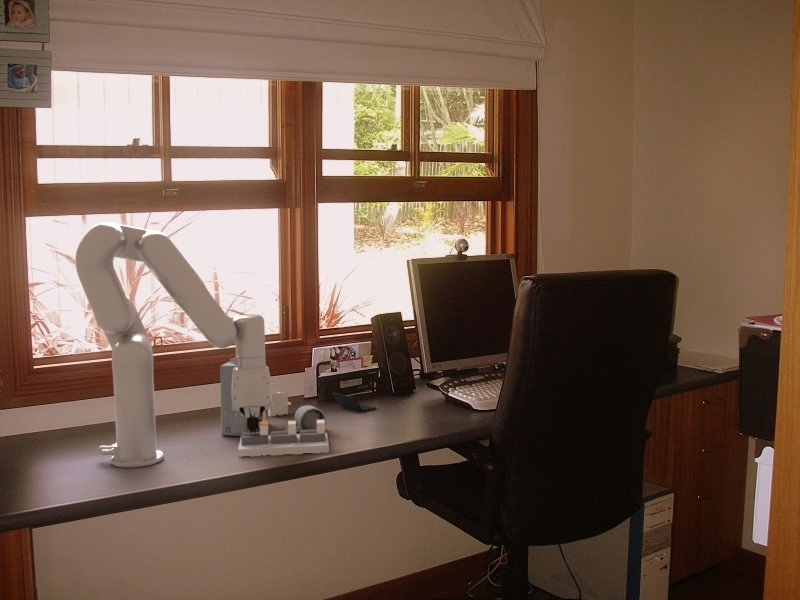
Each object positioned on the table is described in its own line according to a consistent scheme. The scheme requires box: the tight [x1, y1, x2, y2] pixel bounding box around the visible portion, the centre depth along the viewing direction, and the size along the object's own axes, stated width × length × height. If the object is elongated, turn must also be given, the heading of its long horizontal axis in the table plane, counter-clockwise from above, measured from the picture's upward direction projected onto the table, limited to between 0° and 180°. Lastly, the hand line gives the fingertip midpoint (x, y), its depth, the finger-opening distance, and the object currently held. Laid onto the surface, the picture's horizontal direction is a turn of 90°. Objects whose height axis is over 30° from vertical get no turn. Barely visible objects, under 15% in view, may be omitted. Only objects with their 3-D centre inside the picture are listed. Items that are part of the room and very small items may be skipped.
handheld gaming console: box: [332, 392, 377, 413], centre depth 256 cm, size 12×7×10 cm
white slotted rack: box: [237, 420, 330, 458], centre depth 213 cm, size 23×12×7 cm, turn 98°
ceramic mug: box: [284, 404, 327, 434], centre depth 228 cm, size 11×8×8 cm
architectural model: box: [267, 391, 292, 417], centre depth 250 cm, size 3×7×7 cm, turn 117°
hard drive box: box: [219, 361, 267, 437], centre depth 232 cm, size 16×8×20 cm, turn 168°
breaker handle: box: [259, 420, 269, 435], centre depth 212 cm, size 2×4×3 cm, turn 8°
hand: (253, 431), depth 212 cm, fingers closed
